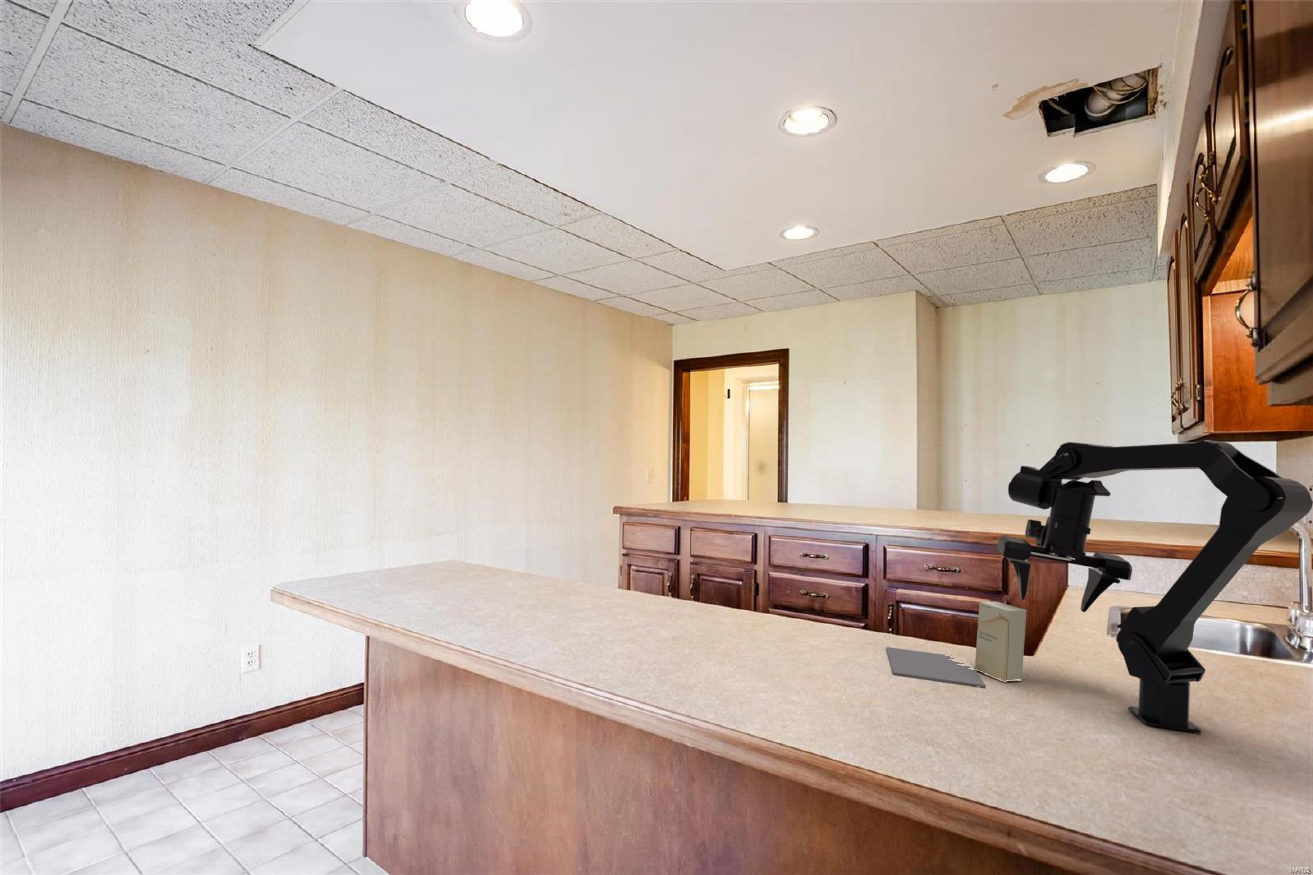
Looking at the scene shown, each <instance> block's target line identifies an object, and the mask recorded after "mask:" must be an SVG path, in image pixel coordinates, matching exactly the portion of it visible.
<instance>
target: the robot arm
mask: <svg viewBox="0 0 1313 875" xmlns="http://www.w3.org/2000/svg"><path fill="white" fill-rule="evenodd" d="M1058 447H1059V448H1057V450H1056V452H1055V454H1054V455H1053V456H1052V457H1051V458H1050V459H1049V460H1048V461H1047V462H1046V463H1045V464H1044V465H1043V466H1042V467H1041V468H1040V469H1038V468H1036V467H1035V466H1034V467H1033V466H1029V465H1028V466H1027V465H1021V466H1020V470H1019V472H1017V473H1016V474H1014V475H1013V477H1012V479H1011V480H1010V482H1008V486H1007V487H1008V489H1007V492H1008V493H1007V494H1008V497H1009V498H1010V499H1011V500H1012V501H1013V502H1017V503H1019V504H1022V505H1026V506H1030V507H1035V508H1038V509H1042V510H1048V509H1050V513H1049V516H1047V519H1046V523H1045V524H1042V521H1040V520H1036V519H1027V523H1026V527H1025V532H1024V533H1025V534H1024V535H1025V538H1027V539H1031V540H1032V539H1033V540H1035V545H1031V543H1029V542H1028V541H1027V539H1025V538H1021V537H1014V536H1010V535H1004V534H1003V535H1002V536H1001V537H999V539H998V542H997V548H996V550H997V551H998V552H999V554H1001V556H1002V557H1004V558H1006V559H1007V561H1008V562H1009V563H1011V564H1012V565H1013V567H1014V571H1015V575H1016V581H1017V585H1018V587H1017V588H1018V593H1019V597H1020V600H1022V601H1024V600H1025V598H1026V596H1027V592H1028V586H1029V585H1028V584H1029V578H1030V577H1029V576H1030V572H1031V566H1032V565H1031V563H1030V562H1029V561H1028V559H1030V558H1031V557H1033V558H1039V559H1043V560H1047V561H1048V560H1050V561H1054V562H1055V561H1056V562H1059V563H1065V564H1071V565H1076V566H1077V565H1078V566H1082V567H1087V568H1088V575H1087V576H1088V577H1087V583H1086V585H1085V589H1084V592H1083V595H1082V597H1081V604H1080V611H1081V612H1082V613H1086V612H1087V610H1089V608H1091V606H1092V604H1094V602H1096V600H1098V598H1099V597H1100V596H1101V595H1102V594H1103V593H1104V592H1106V591H1107V589H1109V587H1111V586H1112V585H1113V584H1120V583H1121V580H1125V581H1131V578H1132V574H1133V573H1132V572H1133V567H1132V565H1131V563H1130V562H1129V561H1127V560H1126V559H1124V558H1123V557H1121V556H1120V555H1116V554H1113V553H1112V554H1110V553H1106V552H1105V553H1104V552H1101V551H1100V552H1099V551H1095V552H1094V553H1093V555H1092V556H1091V555H1086V554H1087V553H1086V552H1085V547H1086V544H1087V543H1086V542H1087V539H1088V538H1087V537H1088V535H1091V529H1092V528H1091V527H1090V523H1091V519H1092V518H1091V517H1092V514H1093V509H1094V503H1095V498H1096V497H1097V496H1098V497H1110V496H1111V492H1110V491H1109V490H1108V488H1106V487H1105V486H1104V484H1103V482H1102V481H1101V480H1099V478H1103V477H1109V476H1115V475H1117V474H1120V473H1124V472H1128V471H1161V470H1162V471H1163V470H1166V471H1168V470H1201V472H1203V473H1204V474H1205V476H1206V477H1207V479H1208V480H1209V481H1210V482H1211V483H1212V484H1213V486H1214V487H1215V488H1216V489H1217V490H1219V492H1220V493H1222V494H1223V495H1224V496H1226V498H1225V500H1224V501H1223V504H1222V505H1221V509H1220V513H1219V514H1220V515H1219V522H1218V523H1219V524H1218V527H1217V529H1216V531H1215V532H1214V533H1213V534H1212V536H1211V537H1210V538H1209V539H1208V541H1206V543H1205V545H1204V546H1203V547H1202V548H1200V549H1201V550H1200V551H1199V552H1198V553H1197V555H1196V556H1195V557H1194V558H1193V559H1192V561H1191V562H1190V563H1189V564H1188V566H1186V568H1185V569H1184V571H1183V572H1182V573H1181V574H1180V576H1179V577H1178V578H1177V579H1176V580H1175V582H1174V583H1173V584H1172V586H1171V587H1170V588H1169V589H1168V590H1167V592H1166V593H1165V594H1164V595H1163V597H1162V598H1161V600H1160V601H1159V602H1158V603H1157V604H1156V605H1153V606H1151V605H1150V606H1148V605H1147V606H1133V607H1132V608H1130V610H1129V611H1128V614H1127V616H1126V618H1125V619H1124V620H1123V621H1122V622H1121V623H1119V624H1117V625H1116V627H1117V628H1118V629H1120V630H1119V631H1118V632H1117V634H1116V638H1115V639H1116V640H1115V641H1116V643H1117V645H1118V650H1119V651H1120V653H1121V655H1122V656H1123V659H1124V662H1125V666H1126V669H1127V671H1128V675H1129V676H1130V677H1134V678H1138V679H1139V683H1138V684H1139V688H1138V707H1137V706H1128V707H1127V708H1128V711H1130V713H1132V714H1133V715H1134V716H1135V717H1136V718H1138V719H1139V720H1140V721H1141V722H1143V723H1145V725H1147V726H1151V727H1157V728H1158V727H1159V728H1164V729H1171V730H1176V731H1178V730H1179V731H1184V732H1191V733H1196V734H1197V733H1198V734H1201V732H1202V729H1201V728H1200V727H1198V726H1197V725H1196V724H1194V723H1193V722H1191V721H1190V696H1191V694H1190V693H1191V682H1193V683H1194V682H1195V683H1199V682H1201V680H1202V679H1203V677H1204V675H1205V672H1206V668H1205V667H1204V666H1203V665H1202V663H1200V661H1199V660H1198V659H1197V657H1195V656H1194V655H1193V653H1192V652H1191V651H1190V650H1189V647H1190V645H1191V643H1192V642H1193V639H1194V630H1195V624H1196V622H1197V620H1199V618H1200V617H1201V616H1202V614H1204V612H1206V610H1207V609H1208V608H1209V606H1210V605H1211V604H1212V603H1213V602H1214V600H1215V599H1216V598H1217V597H1218V595H1219V594H1221V592H1222V591H1223V590H1224V589H1225V588H1226V587H1227V585H1228V584H1229V583H1230V581H1232V580H1233V578H1234V577H1235V576H1236V575H1237V573H1238V572H1239V571H1240V570H1241V569H1242V567H1243V566H1244V565H1245V564H1246V563H1247V562H1248V560H1250V558H1251V557H1252V556H1253V555H1254V553H1255V552H1256V551H1257V550H1258V549H1259V548H1260V547H1261V546H1262V545H1263V544H1265V543H1267V542H1269V541H1270V540H1272V539H1274V538H1276V537H1278V536H1279V535H1281V534H1283V533H1285V532H1286V531H1288V530H1289V529H1290V528H1291V527H1293V526H1294V525H1296V523H1298V522H1299V521H1301V520H1302V519H1303V518H1304V517H1306V516H1307V515H1308V514H1309V513H1310V512H1311V509H1312V508H1313V500H1312V496H1311V493H1310V491H1309V490H1308V489H1307V487H1306V486H1305V485H1303V484H1302V483H1300V482H1299V481H1297V480H1293V479H1290V478H1283V477H1282V476H1280V475H1279V474H1277V473H1276V472H1275V471H1273V470H1272V469H1270V468H1268V467H1267V466H1265V465H1263V464H1261V463H1260V462H1258V461H1256V460H1254V459H1252V458H1251V457H1249V456H1247V455H1245V454H1244V453H1243V452H1242V451H1240V450H1238V449H1237V448H1236V447H1235V446H1234V445H1233V444H1231V443H1229V442H1226V441H1218V440H1217V441H1216V440H1209V439H1204V440H1203V439H1202V440H1199V441H1196V442H1195V441H1194V442H1179V443H1178V442H1177V443H1164V444H1145V445H1143V444H1142V445H1126V446H1122V445H1121V446H1114V445H1113V446H1111V445H1103V444H1102V445H1101V444H1093V443H1082V442H1075V441H1068V442H1064V443H1062V444H1061V445H1059V446H1058ZM1084 478H1085V479H1092V480H1090V481H1088V482H1086V481H1080V480H1081V479H1084ZM1095 479H1097V480H1095ZM1063 480H1068V481H1067V482H1065V483H1064V482H1063Z"/></svg>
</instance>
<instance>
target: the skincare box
mask: <svg viewBox="0 0 1313 875" xmlns="http://www.w3.org/2000/svg"><path fill="white" fill-rule="evenodd" d="M977 621H978V623H977V630H976V633H977V635H976V645H975V646H976V649H975V660H974V661H975V662H974V663H975V664H974V669H977V670H979V671H982V672H983V673H987V674H989V675H991V676H993V677H995V678H999V679H1001V680H1003V681H1006V680H1013V679H1014V680H1015V679H1022V678H1023V667H1024V665H1023V664H1024V651H1025V639H1026V637H1025V635H1026V623H1027V609H1026V608H1025V609H1024V608H1020V607H1017V606H1014V605H1009V604H1007V603H1003V602H999V601H979V606H978V619H977ZM1022 680H1023V679H1022Z"/></svg>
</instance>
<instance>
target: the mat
mask: <svg viewBox="0 0 1313 875" xmlns="http://www.w3.org/2000/svg"><path fill="white" fill-rule="evenodd" d="M885 651H886V654H887V657H888V660H889V664H890V668H891V672H892V675H893V676H899V677H906V678H914V679H920V680H928V681H934V682H940V683H947V684H948V683H949V684H955V685H960V686H968V685H971V686H970V687H975V686H980V687H979V688H982V687H986V686H987V685H986V684H985V682H984V680H982V678H981V677H980V675H979V674H978V671H976V670H971V669H968V668H971V667H969V666H961V665H957V664H964V663H959V662H954V661H952V660H949V659H954V658H950V656H951V655H950V656H945V655H946V654H942V653H935V652H933V653H932V652H926V651H919V650H913V649H911V650H910V649H904V648H897V647H890V646H886V647H885Z"/></svg>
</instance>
